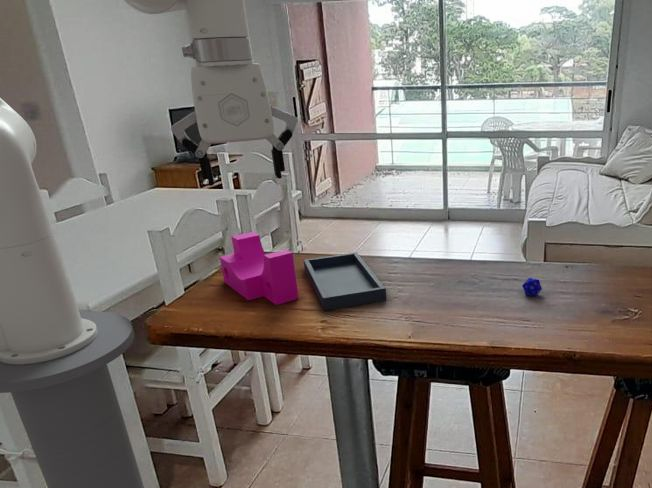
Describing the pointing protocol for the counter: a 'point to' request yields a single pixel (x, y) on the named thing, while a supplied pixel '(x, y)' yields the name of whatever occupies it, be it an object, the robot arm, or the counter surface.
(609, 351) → the counter surface
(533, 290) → the die
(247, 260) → the toy block
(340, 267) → the rectangular tray
